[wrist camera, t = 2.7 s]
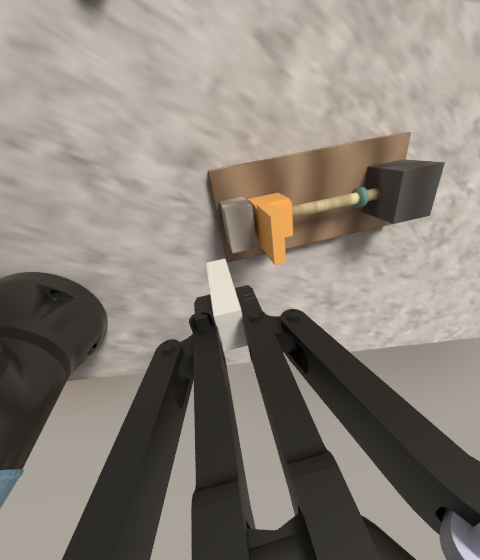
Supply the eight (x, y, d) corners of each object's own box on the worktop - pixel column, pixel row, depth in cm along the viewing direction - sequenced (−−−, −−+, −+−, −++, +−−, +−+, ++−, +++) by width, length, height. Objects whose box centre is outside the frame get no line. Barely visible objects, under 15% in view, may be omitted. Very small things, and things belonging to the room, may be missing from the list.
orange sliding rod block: (252, 234, 31) (274, 265, 23) (247, 196, 29) (270, 216, 21) (280, 228, 32) (312, 256, 24) (278, 190, 29) (312, 207, 21)
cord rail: (226, 257, 35) (235, 283, 28) (208, 170, 28) (214, 178, 22) (385, 221, 37) (426, 237, 30) (401, 132, 31) (457, 129, 24)
